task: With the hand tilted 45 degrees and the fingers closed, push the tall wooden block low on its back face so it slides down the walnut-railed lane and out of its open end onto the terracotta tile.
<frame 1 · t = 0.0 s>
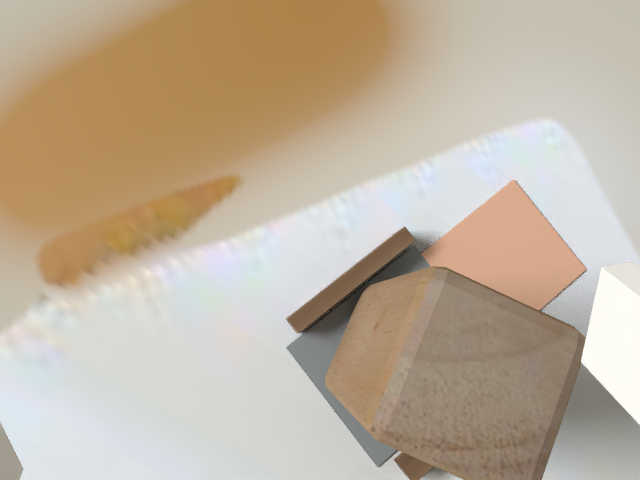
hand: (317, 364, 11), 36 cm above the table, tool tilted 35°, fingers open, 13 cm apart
wooden block: (391, 355, 47), resting on grey square panel
grey square panel: (396, 352, 48), on the table
lane rails: (400, 348, 48), on the table
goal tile: (504, 262, 50), on the table
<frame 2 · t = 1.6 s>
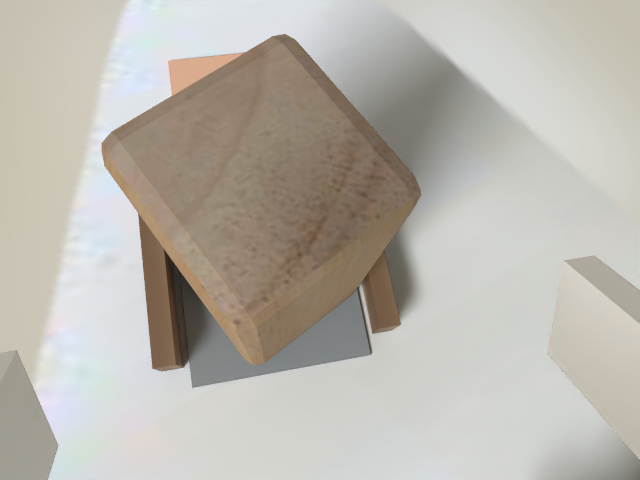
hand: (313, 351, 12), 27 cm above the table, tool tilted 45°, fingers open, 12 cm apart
wooden block: (268, 277, 40), resting on grey square panel
grey square panel: (267, 271, 40), on the table
lane rails: (266, 265, 40), on the table
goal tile: (242, 116, 44), on the table
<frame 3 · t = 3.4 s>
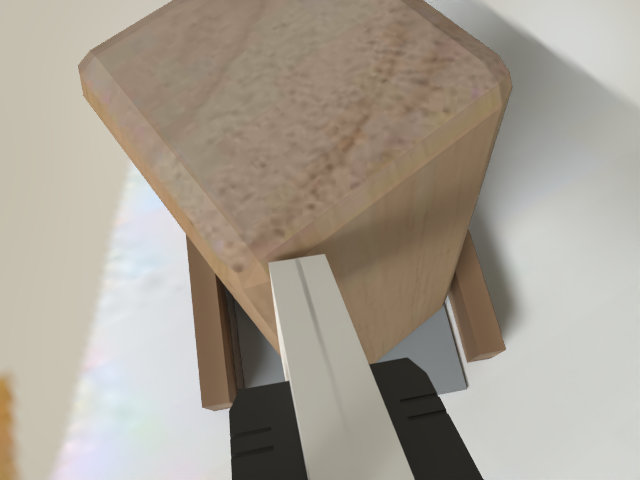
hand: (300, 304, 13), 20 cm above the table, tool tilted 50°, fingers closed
wooden block: (336, 294, 33), point 1 cm above the table, touching gripper, grey square panel
grey square panel: (335, 289, 34), on the table
lane rails: (333, 282, 34), on the table
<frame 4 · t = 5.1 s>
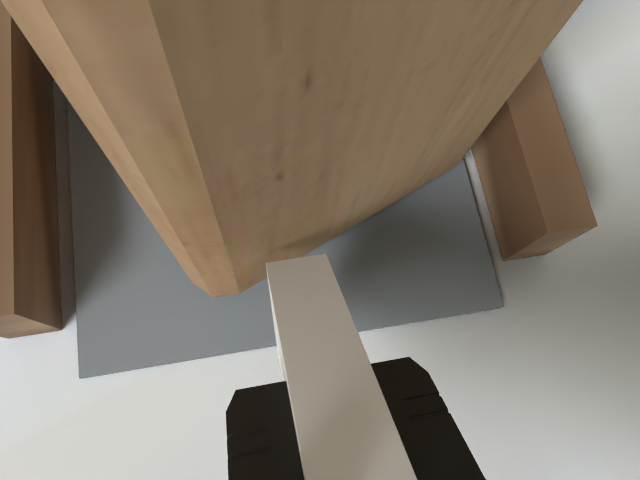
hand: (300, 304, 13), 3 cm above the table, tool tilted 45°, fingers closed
wooden block: (269, 119, 18), resting on grey square panel, touching gripper
grey square panel: (266, 124, 18), on the table
lane rails: (264, 112, 18), on the table
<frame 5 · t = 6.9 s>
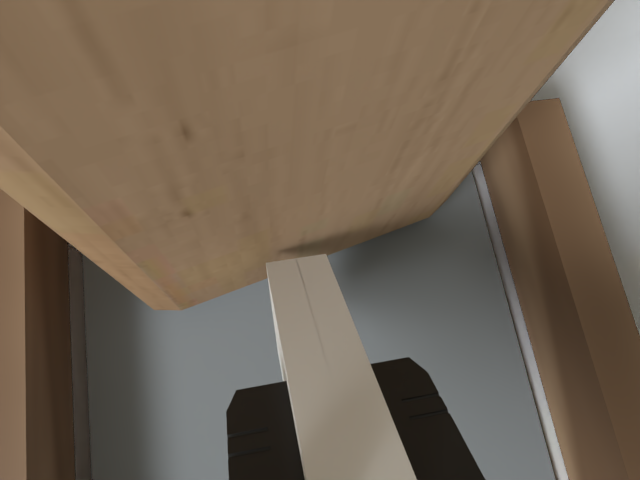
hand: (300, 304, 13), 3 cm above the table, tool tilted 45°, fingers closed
wooden block: (254, 139, 18), on the table, touching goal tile, grey square panel
grey square panel: (315, 383, 16), on the table
lane rails: (312, 367, 16), on the table
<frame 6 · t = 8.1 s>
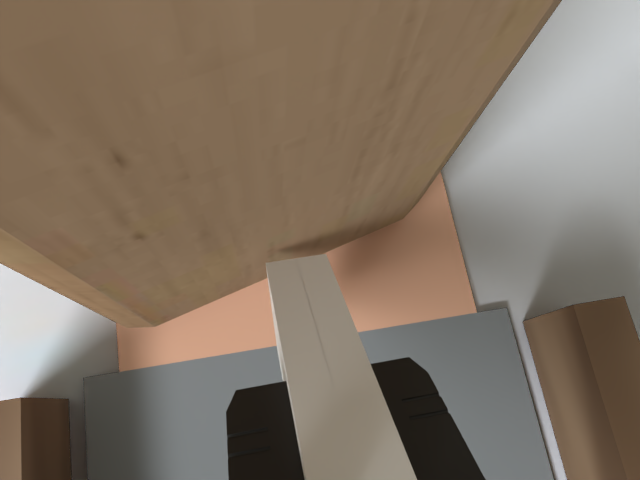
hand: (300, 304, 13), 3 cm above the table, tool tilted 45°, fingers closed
wooden block: (224, 148, 18), resting on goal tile
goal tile: (276, 164, 18), on the table
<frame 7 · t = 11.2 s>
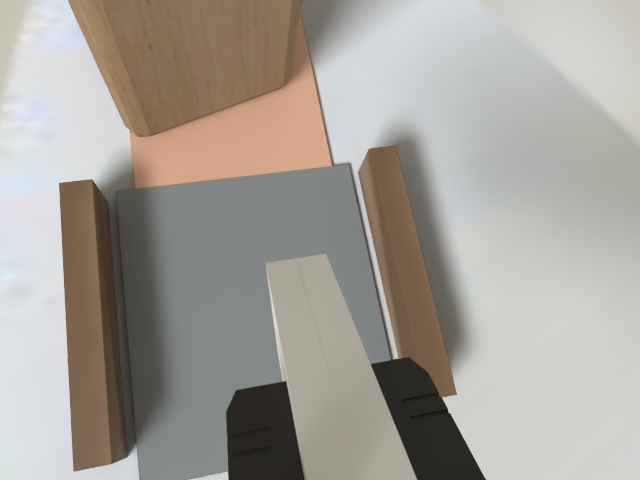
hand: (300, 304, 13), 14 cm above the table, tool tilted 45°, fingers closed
wooden block: (185, 52, 32), on the table, touching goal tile
grey square panel: (256, 308, 28), on the table
lane rails: (255, 299, 28), on the table
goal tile: (222, 86, 31), on the table
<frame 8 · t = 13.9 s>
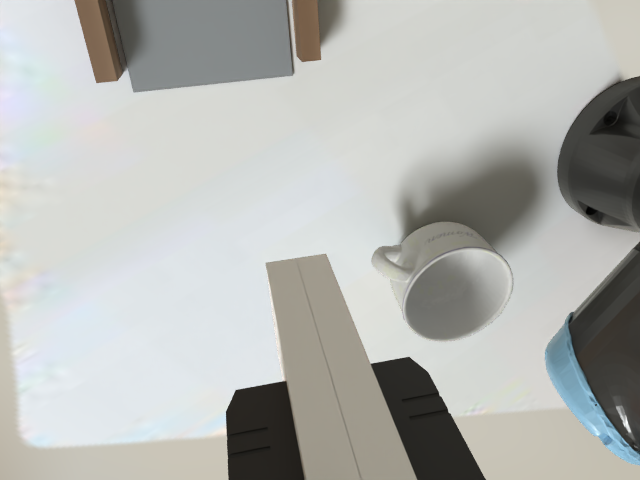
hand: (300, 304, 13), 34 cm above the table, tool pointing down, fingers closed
teacup: (417, 249, 55), on the table
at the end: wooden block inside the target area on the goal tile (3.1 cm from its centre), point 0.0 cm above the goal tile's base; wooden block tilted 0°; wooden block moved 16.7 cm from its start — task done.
